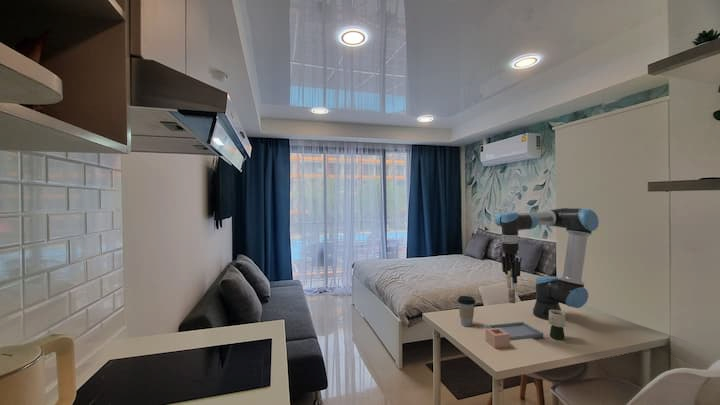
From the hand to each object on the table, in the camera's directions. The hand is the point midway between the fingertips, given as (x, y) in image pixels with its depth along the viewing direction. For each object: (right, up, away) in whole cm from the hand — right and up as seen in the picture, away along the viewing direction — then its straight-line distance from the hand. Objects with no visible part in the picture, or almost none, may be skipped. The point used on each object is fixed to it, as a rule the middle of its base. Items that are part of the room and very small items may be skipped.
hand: (511, 288), depth 158 cm
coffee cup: (-18, -25, +15) cm, 34 cm away
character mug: (+22, -25, -3) cm, 33 cm away
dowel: (0, -7, 0) cm, 7 cm away
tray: (+2, -25, +3) cm, 25 cm away
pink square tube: (-12, -25, -10) cm, 29 cm away
